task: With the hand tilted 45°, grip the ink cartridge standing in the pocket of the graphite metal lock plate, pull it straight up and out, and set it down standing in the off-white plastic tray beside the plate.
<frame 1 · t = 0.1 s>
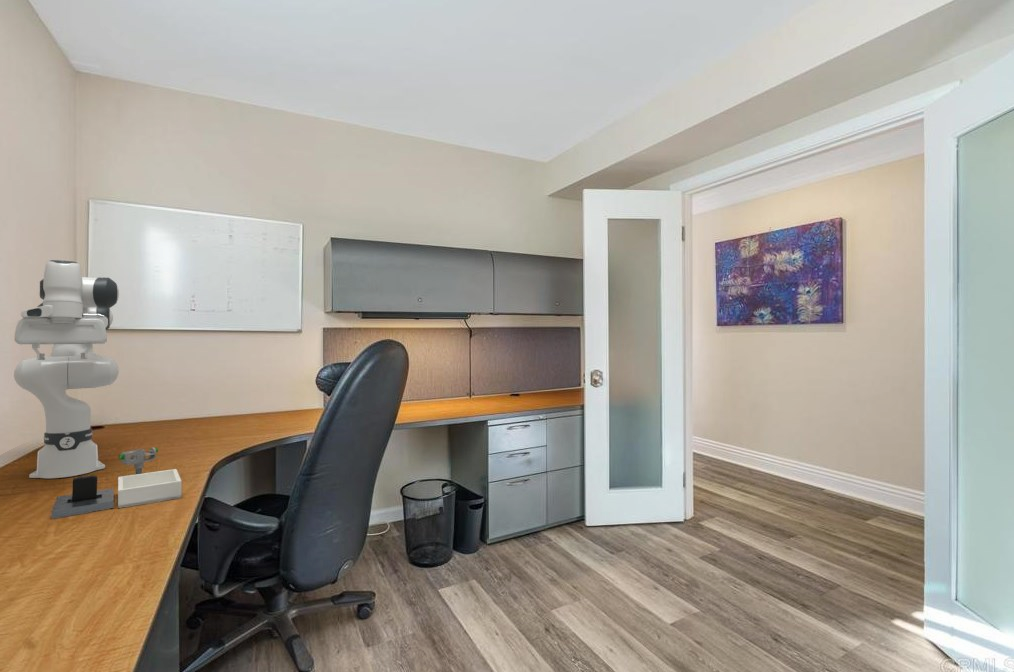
hand: (62, 359, 144), 39 cm above the table, tool pointing down, fingers open, 8 cm apart
lock plate: (84, 506, 131), on the table
mechanical component: (138, 482, 152), on the table
tray: (149, 495, 139), on the table
ink cartridge: (84, 507, 131), resting in lock plate
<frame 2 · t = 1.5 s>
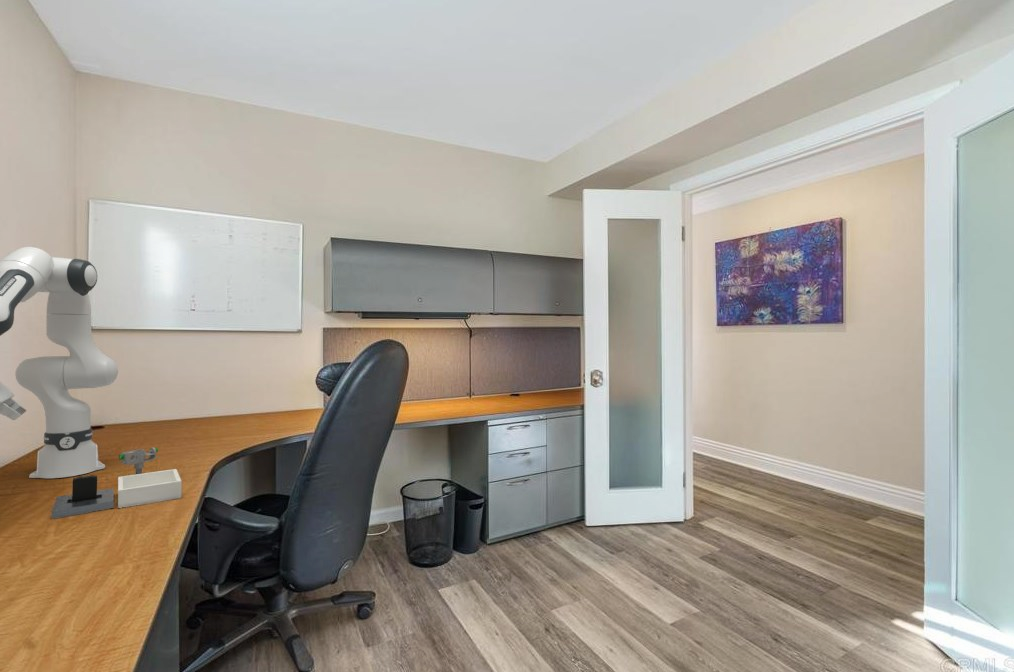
hand: (21, 415, 123), 26 cm above the table, tool tilted 45°, fingers open, 8 cm apart
nothing on the table moved.
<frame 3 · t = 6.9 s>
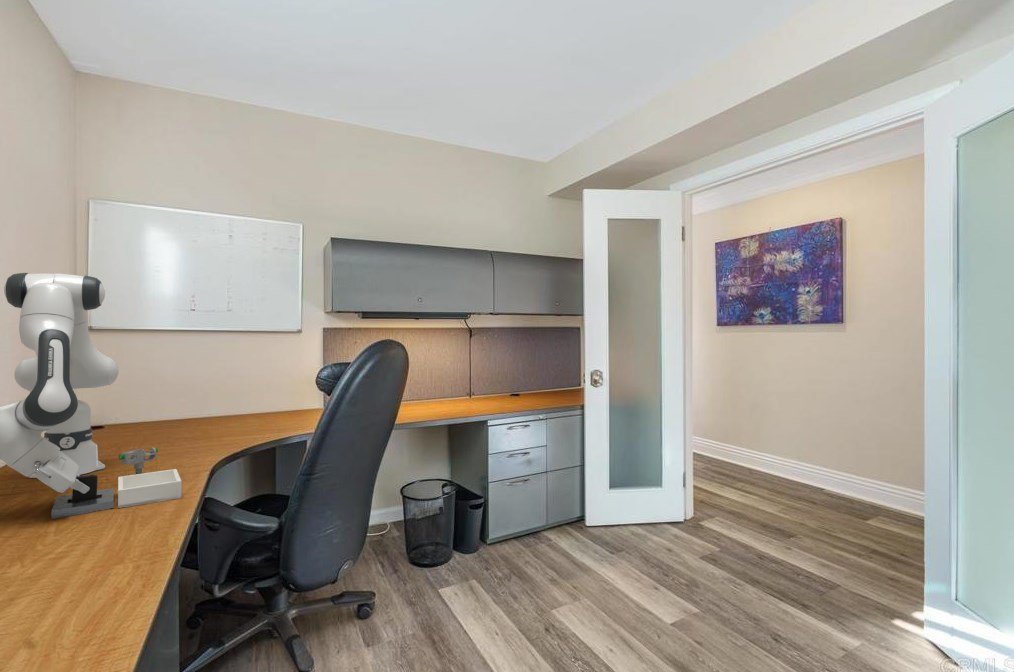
hand: (88, 489, 131), 4 cm above the table, tool tilted 45°, fingers closed on ink cartridge, 2 cm apart
ink cartridge: (84, 506, 131), resting in lock plate, touching gripper
everything else where it was.
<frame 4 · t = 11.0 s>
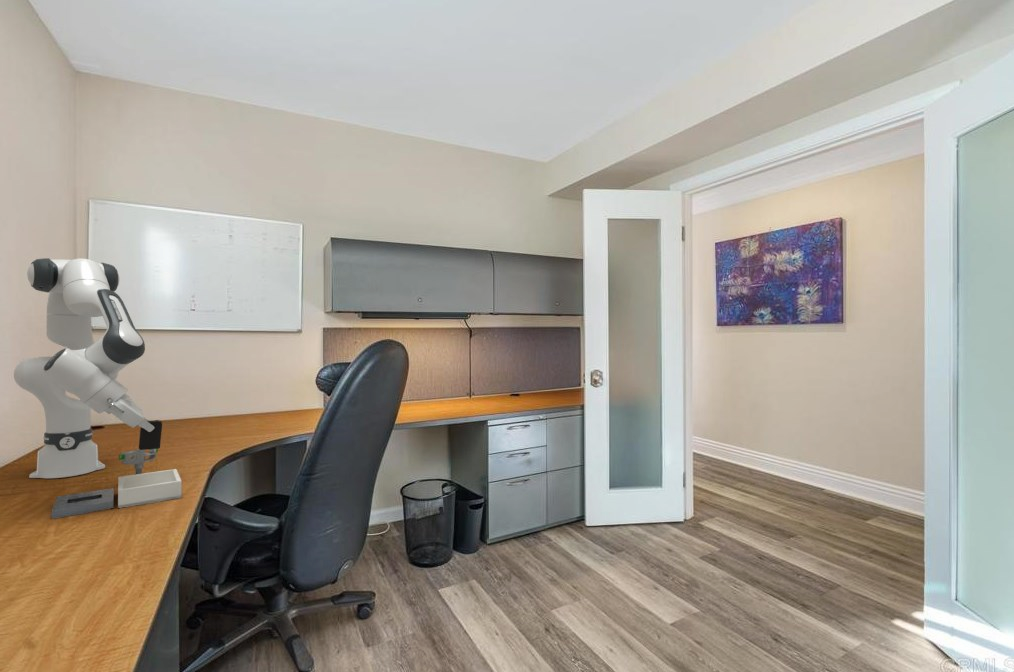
hand: (152, 429, 140), 19 cm above the table, tool tilted 45°, fingers closed on ink cartridge
ink cartridge: (149, 449, 140), point 13 cm above the table, touching gripper
everything else where it was.
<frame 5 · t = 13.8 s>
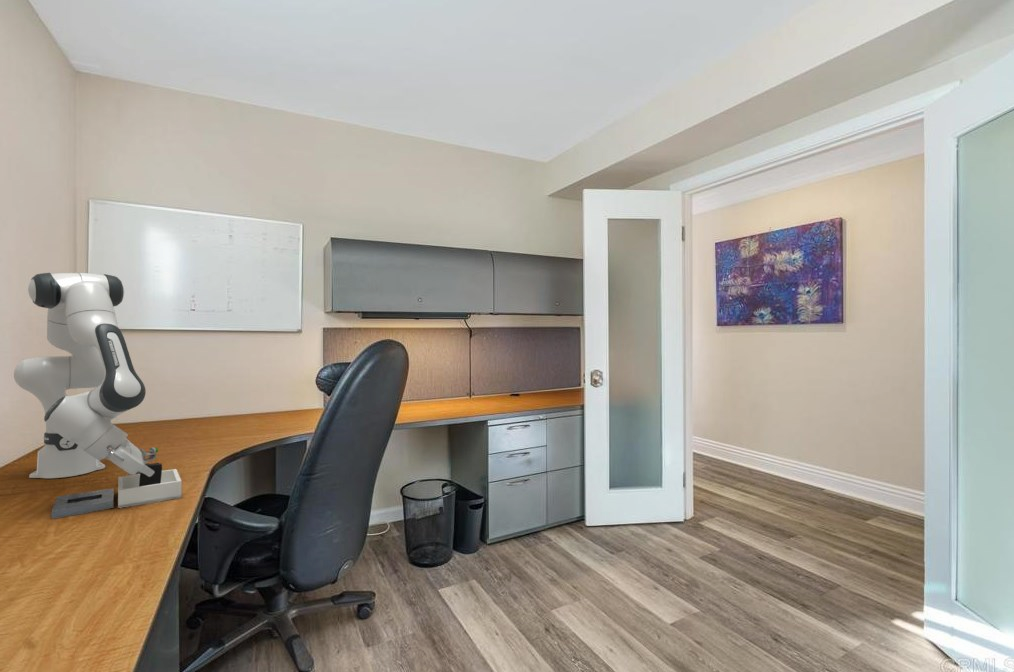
hand: (152, 473, 140), 6 cm above the table, tool tilted 45°, fingers closed on ink cartridge, 1 cm apart
ink cartridge: (149, 492, 140), point 1 cm above the table, touching gripper, tray
everything else where it was.
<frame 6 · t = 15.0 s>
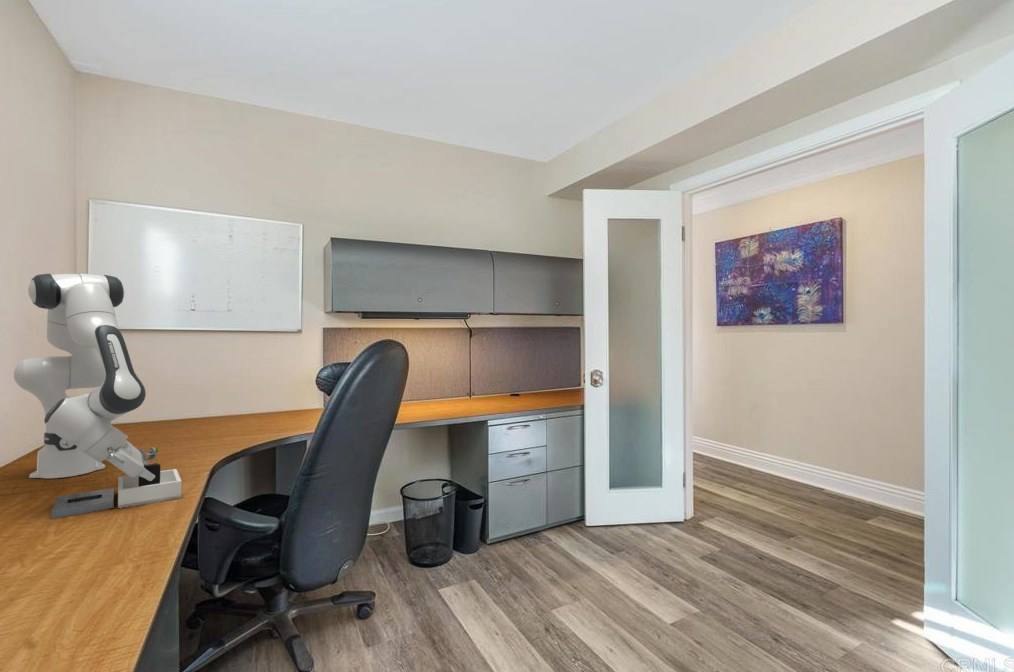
hand: (152, 474, 140), 6 cm above the table, tool tilted 45°, fingers open, 8 cm apart
ink cartridge: (149, 493, 140), point 1 cm above the table, touching tray
everything else where it was.
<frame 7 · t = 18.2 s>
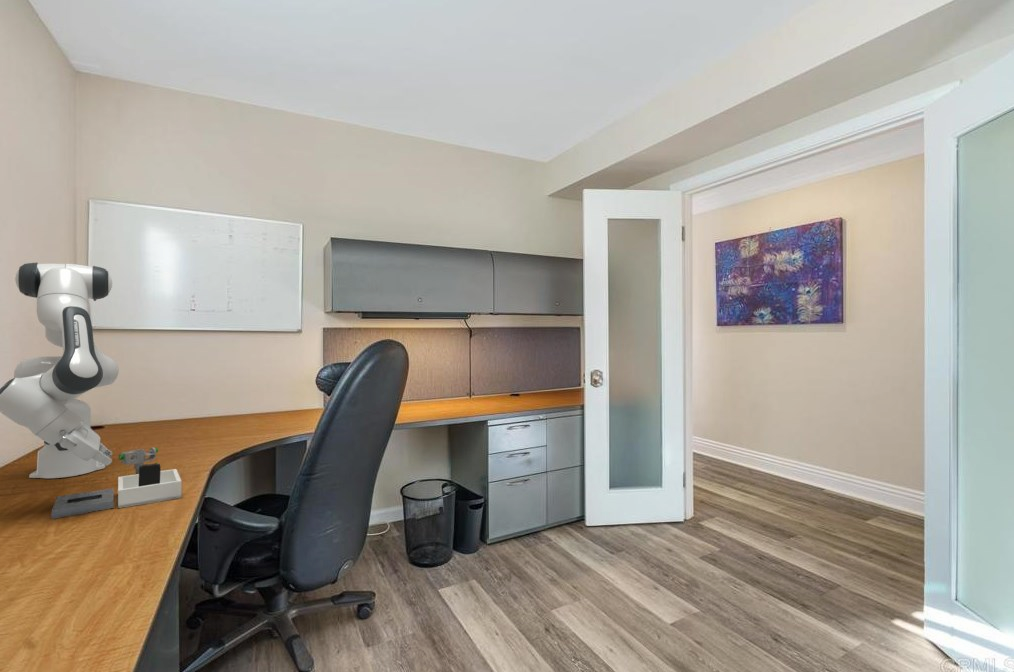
hand: (110, 459, 134), 12 cm above the table, tool tilted 45°, fingers open, 8 cm apart
nothing on the table moved.
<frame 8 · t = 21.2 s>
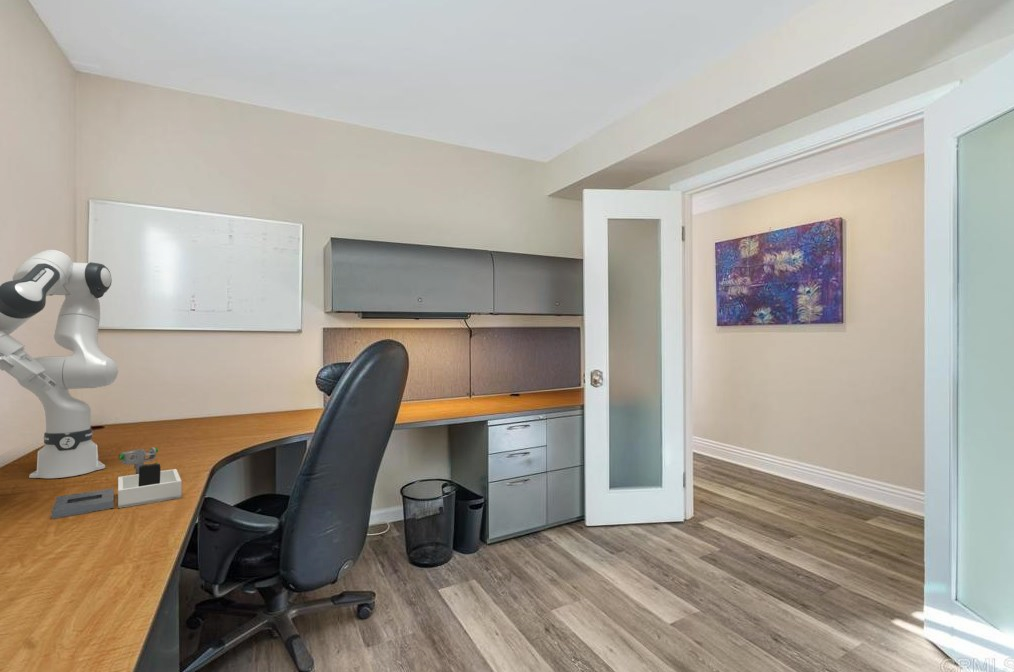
hand: (52, 388, 135), 31 cm above the table, tool tilted 45°, fingers open, 8 cm apart
nothing on the table moved.
at the end: ink cartridge inside the target area on the tray (0.6 cm from its centre), point 0.6 cm above the tray's base; the gripper is holding nothing; ink cartridge moved 14.1 cm from its start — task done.
